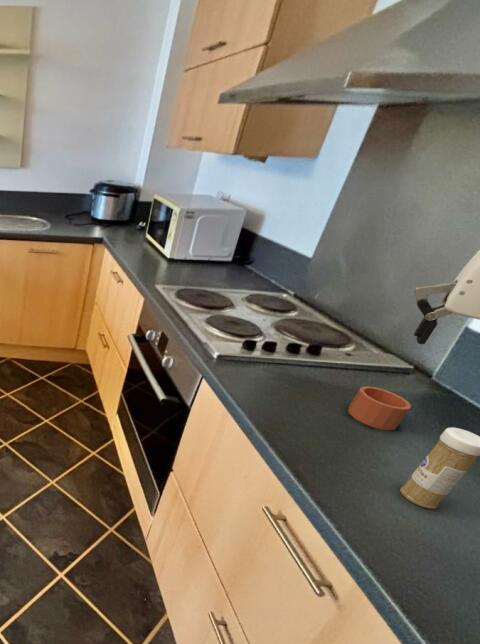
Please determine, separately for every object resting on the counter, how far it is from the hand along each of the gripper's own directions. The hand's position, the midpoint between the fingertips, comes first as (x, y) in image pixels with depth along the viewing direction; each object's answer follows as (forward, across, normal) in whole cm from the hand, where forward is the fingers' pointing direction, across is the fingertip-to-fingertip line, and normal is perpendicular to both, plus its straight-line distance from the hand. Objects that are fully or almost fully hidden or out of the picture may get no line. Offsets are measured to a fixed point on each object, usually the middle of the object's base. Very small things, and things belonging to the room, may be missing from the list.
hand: (461, 352), depth 65 cm
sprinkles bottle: (+24, -4, +7) cm, 25 cm away
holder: (+24, +2, -17) cm, 29 cm away
